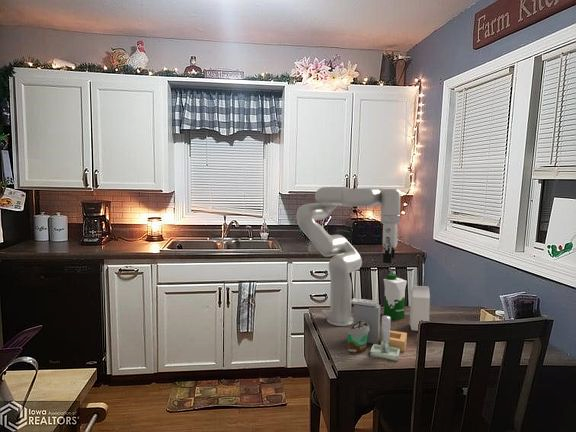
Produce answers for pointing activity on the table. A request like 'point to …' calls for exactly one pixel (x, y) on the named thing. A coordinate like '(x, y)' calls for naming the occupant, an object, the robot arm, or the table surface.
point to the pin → (385, 334)
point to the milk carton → (419, 305)
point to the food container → (358, 337)
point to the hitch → (377, 326)
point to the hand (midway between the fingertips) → (388, 260)
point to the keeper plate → (364, 302)
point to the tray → (392, 355)
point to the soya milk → (394, 297)
